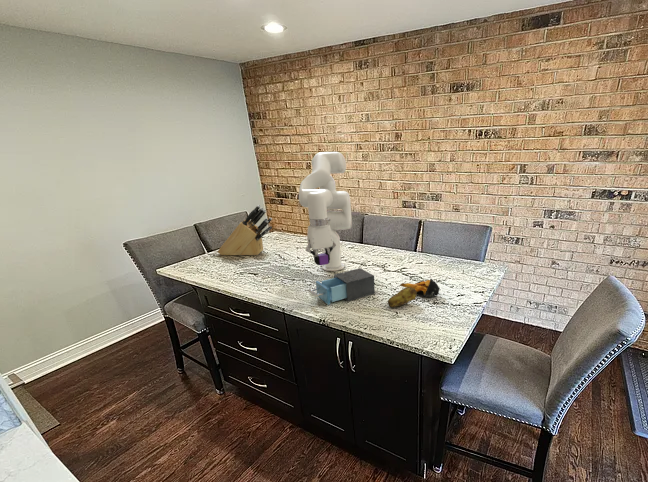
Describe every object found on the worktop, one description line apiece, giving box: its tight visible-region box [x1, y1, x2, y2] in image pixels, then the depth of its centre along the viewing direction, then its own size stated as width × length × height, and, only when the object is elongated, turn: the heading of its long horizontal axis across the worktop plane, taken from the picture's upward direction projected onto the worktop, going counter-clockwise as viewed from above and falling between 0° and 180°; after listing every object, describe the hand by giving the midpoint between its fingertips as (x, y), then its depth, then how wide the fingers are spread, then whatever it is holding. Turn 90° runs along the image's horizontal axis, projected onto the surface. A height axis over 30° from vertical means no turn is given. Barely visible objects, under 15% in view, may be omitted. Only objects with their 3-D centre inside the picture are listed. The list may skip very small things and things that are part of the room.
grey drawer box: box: [333, 267, 376, 302], centre depth 159 cm, size 15×13×9 cm
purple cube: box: [318, 252, 329, 266], centre depth 148 cm, size 4×4×4 cm
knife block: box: [217, 204, 273, 256], centre depth 216 cm, size 11×35×31 cm, turn 89°
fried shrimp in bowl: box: [399, 278, 441, 298], centre depth 156 cm, size 9×11×18 cm
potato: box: [387, 287, 417, 308], centre depth 146 cm, size 8×13×8 cm, turn 93°
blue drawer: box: [308, 277, 347, 305], centre depth 153 cm, size 18×11×7 cm, turn 125°
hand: (322, 262), depth 149 cm, fingers closed on purple cube, 4 cm apart
